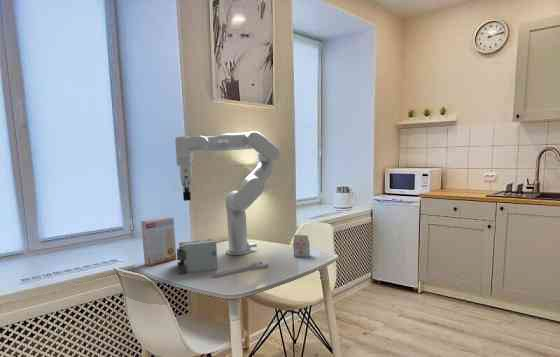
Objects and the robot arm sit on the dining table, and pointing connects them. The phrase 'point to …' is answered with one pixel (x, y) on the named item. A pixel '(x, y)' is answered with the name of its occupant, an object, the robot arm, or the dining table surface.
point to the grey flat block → (200, 256)
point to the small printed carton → (301, 246)
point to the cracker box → (158, 240)
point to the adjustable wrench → (241, 269)
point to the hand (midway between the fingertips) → (187, 199)
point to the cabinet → (184, 256)
